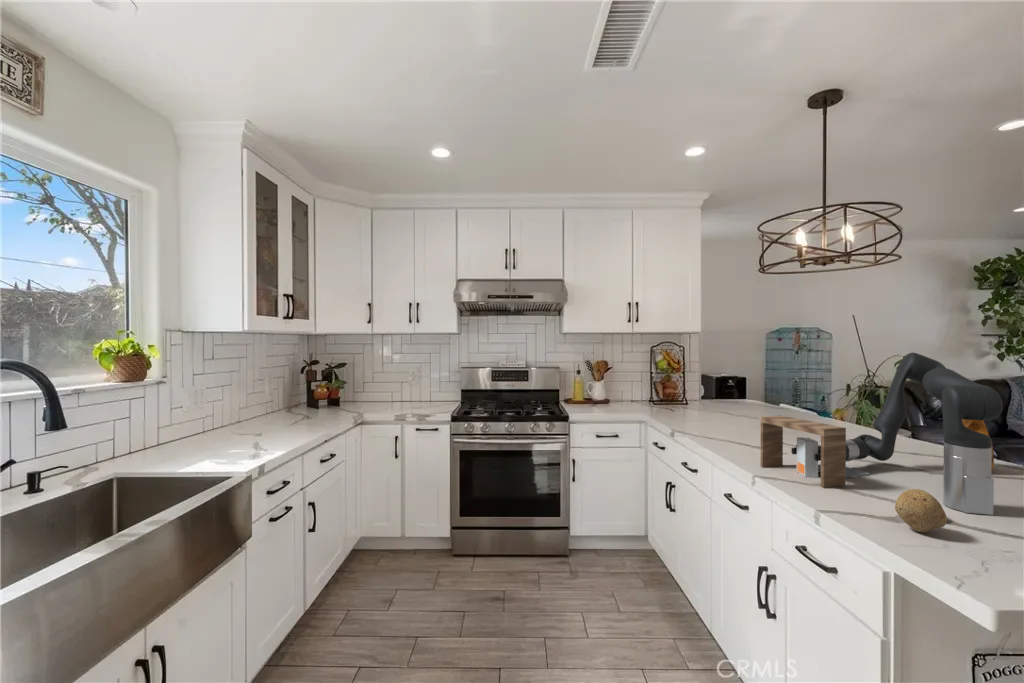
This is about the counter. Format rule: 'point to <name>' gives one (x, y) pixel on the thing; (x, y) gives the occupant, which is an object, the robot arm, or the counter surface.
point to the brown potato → (920, 510)
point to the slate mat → (849, 472)
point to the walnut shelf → (830, 435)
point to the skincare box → (807, 457)
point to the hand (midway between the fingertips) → (803, 454)
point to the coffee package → (978, 427)
